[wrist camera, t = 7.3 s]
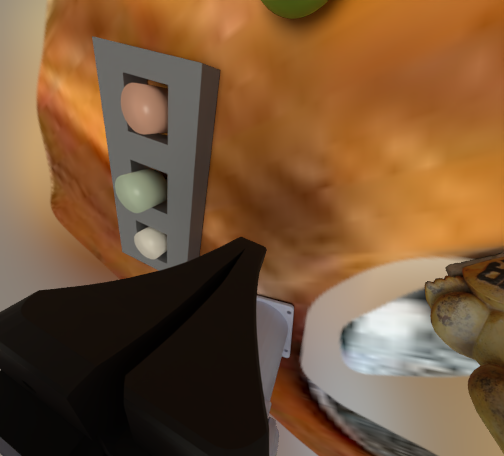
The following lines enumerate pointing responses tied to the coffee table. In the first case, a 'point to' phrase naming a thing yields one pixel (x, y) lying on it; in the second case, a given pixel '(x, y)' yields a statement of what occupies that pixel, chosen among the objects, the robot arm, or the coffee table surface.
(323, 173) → the coffee table surface
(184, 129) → the button panel
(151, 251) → the cream button
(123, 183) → the sage button
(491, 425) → the decorative figurine
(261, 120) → the coffee table surface
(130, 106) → the terracotta button
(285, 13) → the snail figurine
